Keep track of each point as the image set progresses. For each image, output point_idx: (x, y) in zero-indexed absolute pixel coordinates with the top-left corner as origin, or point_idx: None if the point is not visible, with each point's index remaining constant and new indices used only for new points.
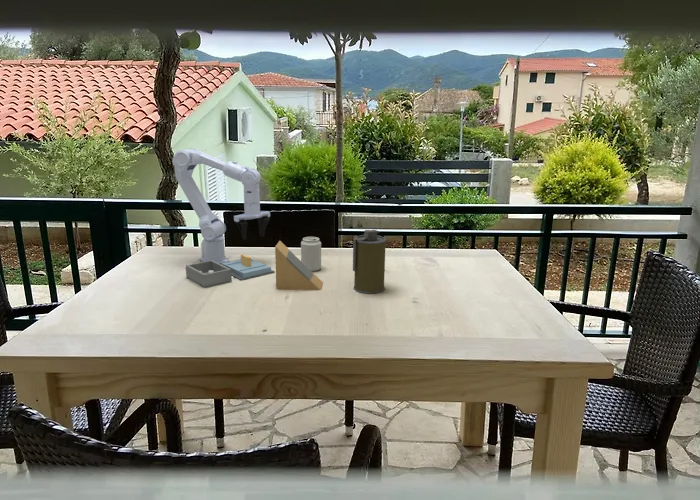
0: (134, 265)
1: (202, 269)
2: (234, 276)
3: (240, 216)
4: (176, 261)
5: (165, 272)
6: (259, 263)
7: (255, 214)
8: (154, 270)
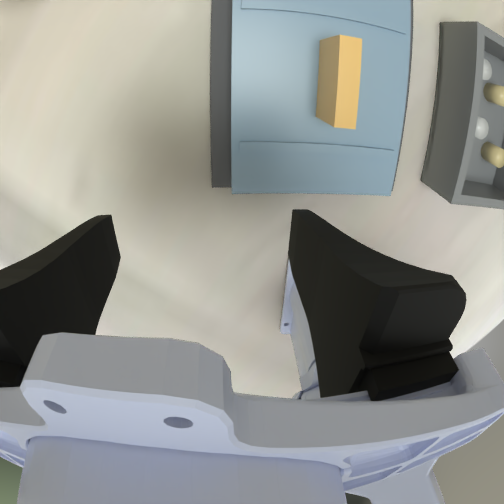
0: (458, 345)
1: (469, 185)
2: (410, 48)
3: (478, 419)
4: None
5: (478, 269)
6: (246, 52)
7: (172, 474)
8: (474, 297)
